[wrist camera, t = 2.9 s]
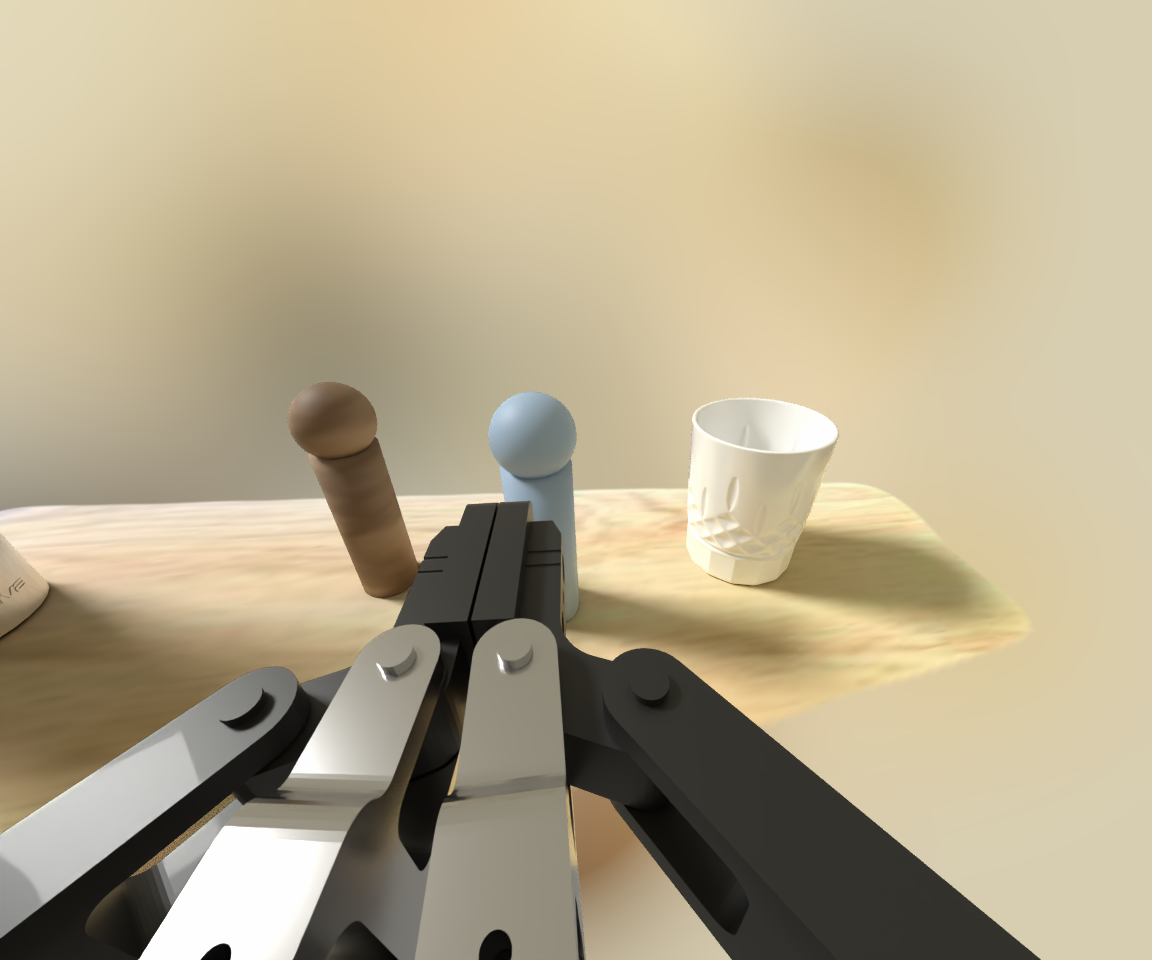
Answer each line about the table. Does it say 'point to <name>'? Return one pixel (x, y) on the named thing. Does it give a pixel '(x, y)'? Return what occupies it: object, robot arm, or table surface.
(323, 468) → the walnut pin
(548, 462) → the blue pin
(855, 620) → the table surface
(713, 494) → the white cup
